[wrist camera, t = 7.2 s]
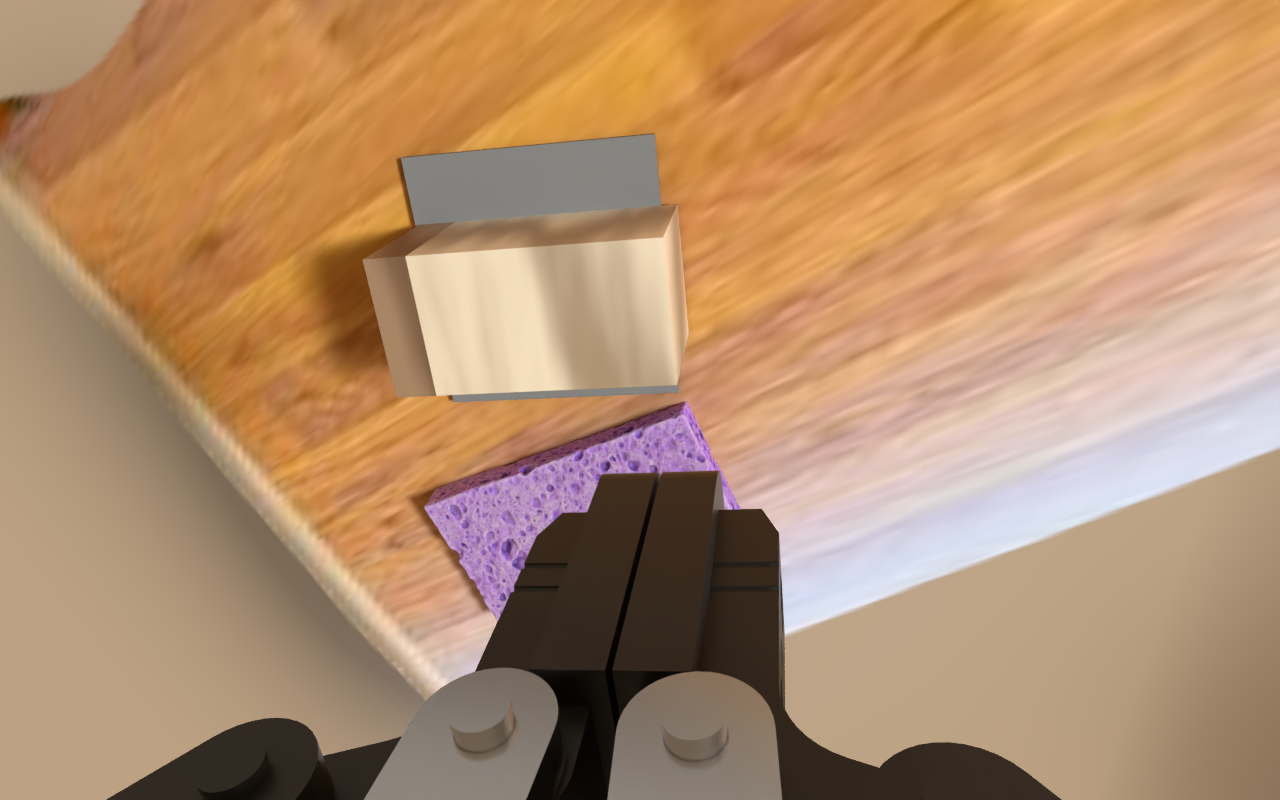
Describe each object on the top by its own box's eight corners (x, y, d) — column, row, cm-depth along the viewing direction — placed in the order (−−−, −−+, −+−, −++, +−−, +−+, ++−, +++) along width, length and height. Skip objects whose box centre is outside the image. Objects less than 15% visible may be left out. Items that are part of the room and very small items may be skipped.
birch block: (663, 237, 26) (362, 259, 27) (676, 385, 28) (396, 397, 29) (677, 204, 30) (418, 224, 32) (688, 333, 32) (444, 346, 34)
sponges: (436, 484, 38) (421, 506, 36) (691, 393, 34) (688, 412, 33) (508, 602, 40) (497, 628, 38) (753, 528, 37) (753, 553, 35)
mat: (654, 133, 30) (653, 134, 29) (678, 389, 34) (678, 392, 33) (403, 156, 31) (400, 158, 31) (455, 399, 35) (453, 402, 35)
